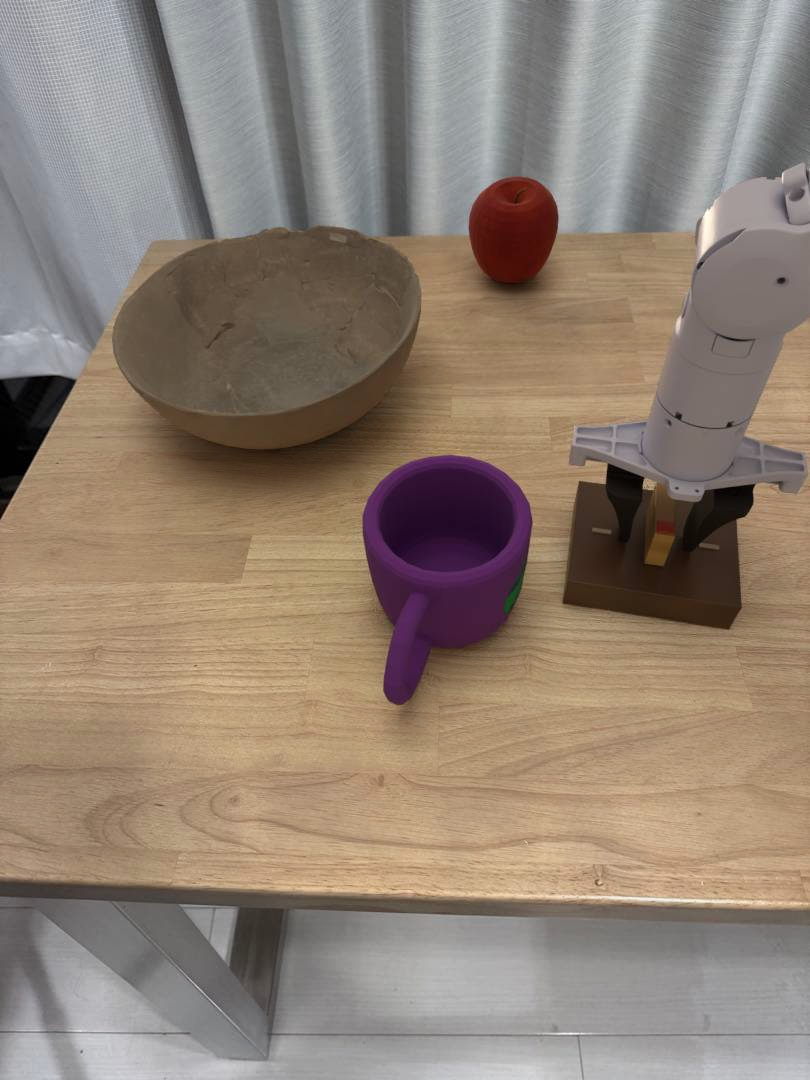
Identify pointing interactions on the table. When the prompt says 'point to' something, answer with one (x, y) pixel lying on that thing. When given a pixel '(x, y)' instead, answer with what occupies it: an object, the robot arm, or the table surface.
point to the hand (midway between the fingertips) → (655, 536)
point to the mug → (443, 558)
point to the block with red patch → (659, 526)
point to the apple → (513, 229)
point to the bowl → (271, 334)
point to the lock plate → (650, 566)
